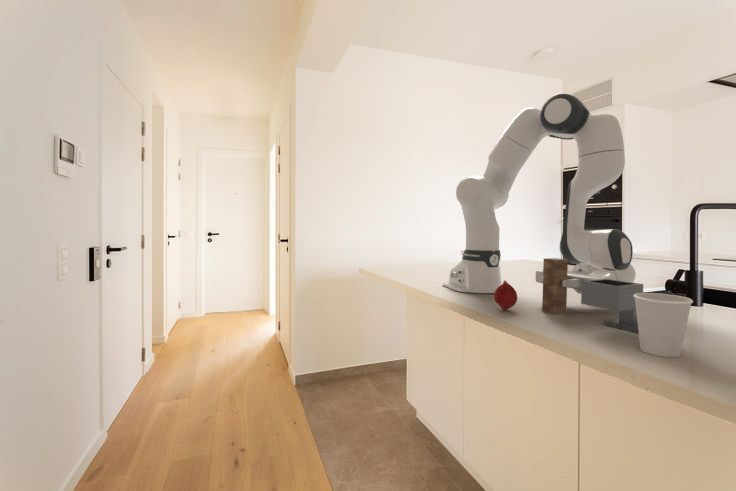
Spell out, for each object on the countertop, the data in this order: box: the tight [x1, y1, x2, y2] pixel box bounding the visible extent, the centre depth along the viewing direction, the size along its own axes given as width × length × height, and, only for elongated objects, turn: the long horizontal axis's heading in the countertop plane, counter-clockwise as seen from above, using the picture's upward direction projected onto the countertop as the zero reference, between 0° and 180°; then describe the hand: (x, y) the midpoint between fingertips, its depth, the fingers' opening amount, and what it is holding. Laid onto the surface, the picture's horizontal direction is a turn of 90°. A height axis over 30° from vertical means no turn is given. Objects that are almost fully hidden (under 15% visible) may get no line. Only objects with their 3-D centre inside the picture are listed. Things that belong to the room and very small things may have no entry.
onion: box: [493, 279, 518, 311], centre depth 99 cm, size 6×6×8 cm
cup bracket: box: [580, 279, 644, 334], centre depth 81 cm, size 8×14×10 cm, turn 115°
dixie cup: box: [633, 292, 694, 358], centre depth 66 cm, size 8×8×10 cm
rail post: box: [541, 257, 569, 315], centre depth 96 cm, size 4×4×14 cm
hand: (552, 281), depth 96 cm, fingers closed on rail post, 4 cm apart
